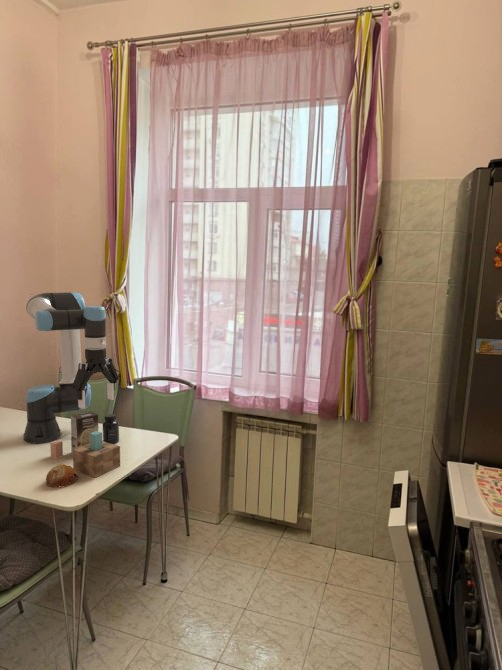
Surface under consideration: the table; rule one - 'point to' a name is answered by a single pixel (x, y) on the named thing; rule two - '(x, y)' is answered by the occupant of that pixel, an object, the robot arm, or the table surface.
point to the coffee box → (82, 428)
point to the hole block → (96, 459)
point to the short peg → (56, 449)
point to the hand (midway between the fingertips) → (96, 403)
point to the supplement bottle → (110, 429)
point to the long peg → (95, 440)
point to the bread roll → (61, 476)
